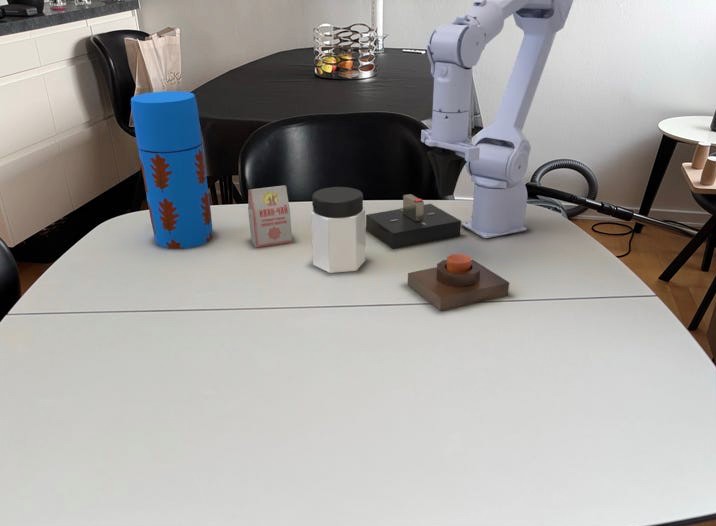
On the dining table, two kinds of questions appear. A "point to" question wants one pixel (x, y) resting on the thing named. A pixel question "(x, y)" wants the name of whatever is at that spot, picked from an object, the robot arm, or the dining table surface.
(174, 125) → the thermos
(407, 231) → the panel
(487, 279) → the button block
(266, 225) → the tea bag
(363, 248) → the jar
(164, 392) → the dining table surface
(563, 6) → the robot arm
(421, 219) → the knob
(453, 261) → the button
